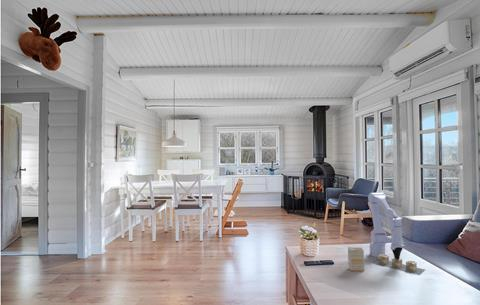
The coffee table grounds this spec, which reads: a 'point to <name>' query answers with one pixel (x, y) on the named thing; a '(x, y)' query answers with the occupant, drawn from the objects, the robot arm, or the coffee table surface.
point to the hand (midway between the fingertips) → (397, 258)
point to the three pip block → (411, 265)
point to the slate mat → (403, 268)
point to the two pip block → (383, 259)
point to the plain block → (397, 262)
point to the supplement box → (356, 259)
